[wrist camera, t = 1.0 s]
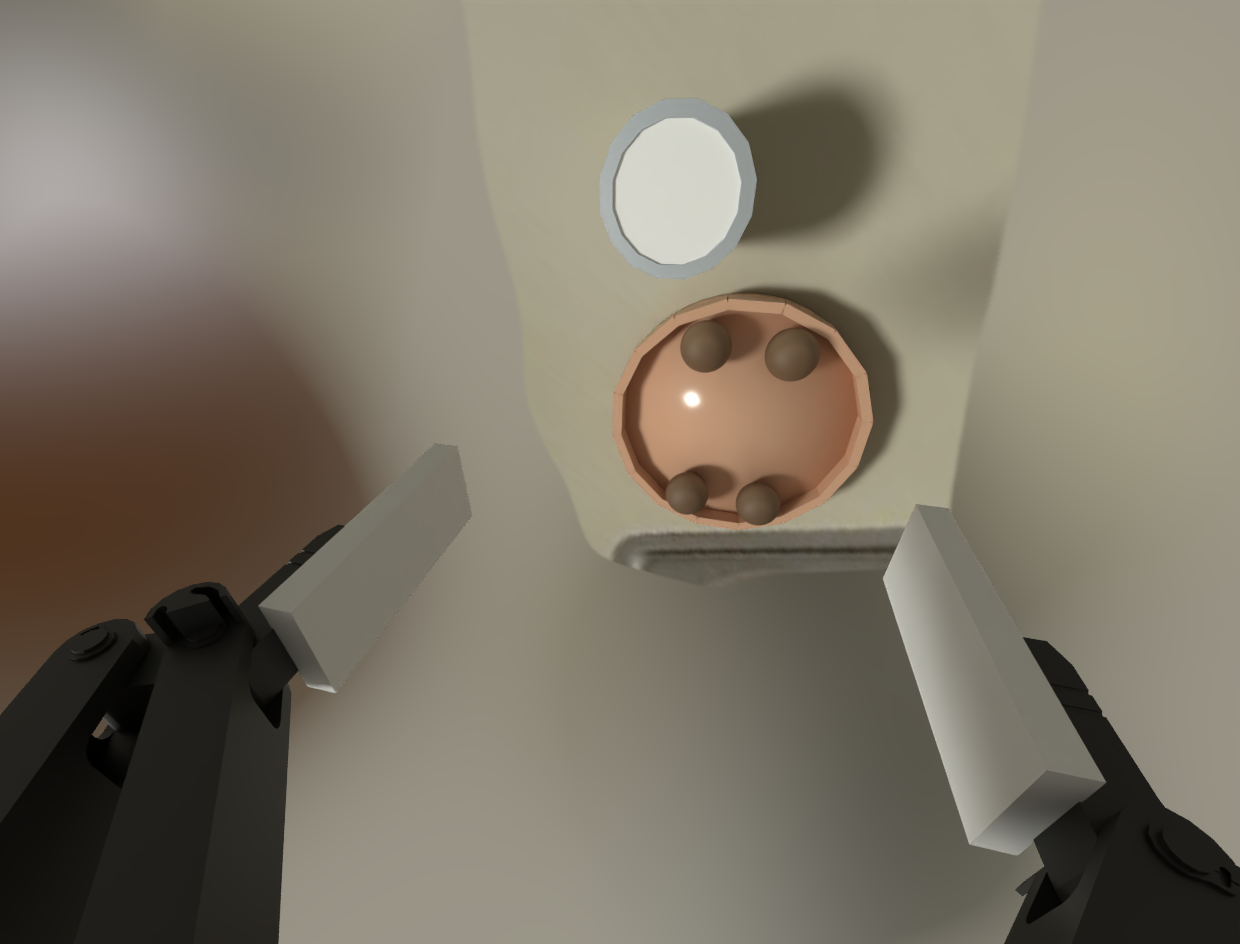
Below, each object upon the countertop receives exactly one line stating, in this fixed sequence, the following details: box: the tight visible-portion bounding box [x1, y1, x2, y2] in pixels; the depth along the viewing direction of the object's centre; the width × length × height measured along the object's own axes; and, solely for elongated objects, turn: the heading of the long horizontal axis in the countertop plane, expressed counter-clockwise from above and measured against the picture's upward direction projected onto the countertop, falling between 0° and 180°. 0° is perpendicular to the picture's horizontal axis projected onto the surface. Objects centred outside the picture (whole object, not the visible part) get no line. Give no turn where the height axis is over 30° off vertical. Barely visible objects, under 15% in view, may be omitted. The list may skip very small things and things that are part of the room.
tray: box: [613, 293, 873, 530], centre depth 32 cm, size 16×16×2 cm
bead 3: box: [736, 482, 781, 526], centre depth 33 cm, size 3×3×3 cm
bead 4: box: [765, 328, 820, 382], centre depth 27 cm, size 3×3×3 cm
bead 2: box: [666, 472, 709, 515], centre depth 34 cm, size 3×3×3 cm
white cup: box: [600, 98, 757, 279], centre depth 23 cm, size 7×7×7 cm
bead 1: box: [680, 320, 732, 373], centre depth 28 cm, size 3×3×3 cm
